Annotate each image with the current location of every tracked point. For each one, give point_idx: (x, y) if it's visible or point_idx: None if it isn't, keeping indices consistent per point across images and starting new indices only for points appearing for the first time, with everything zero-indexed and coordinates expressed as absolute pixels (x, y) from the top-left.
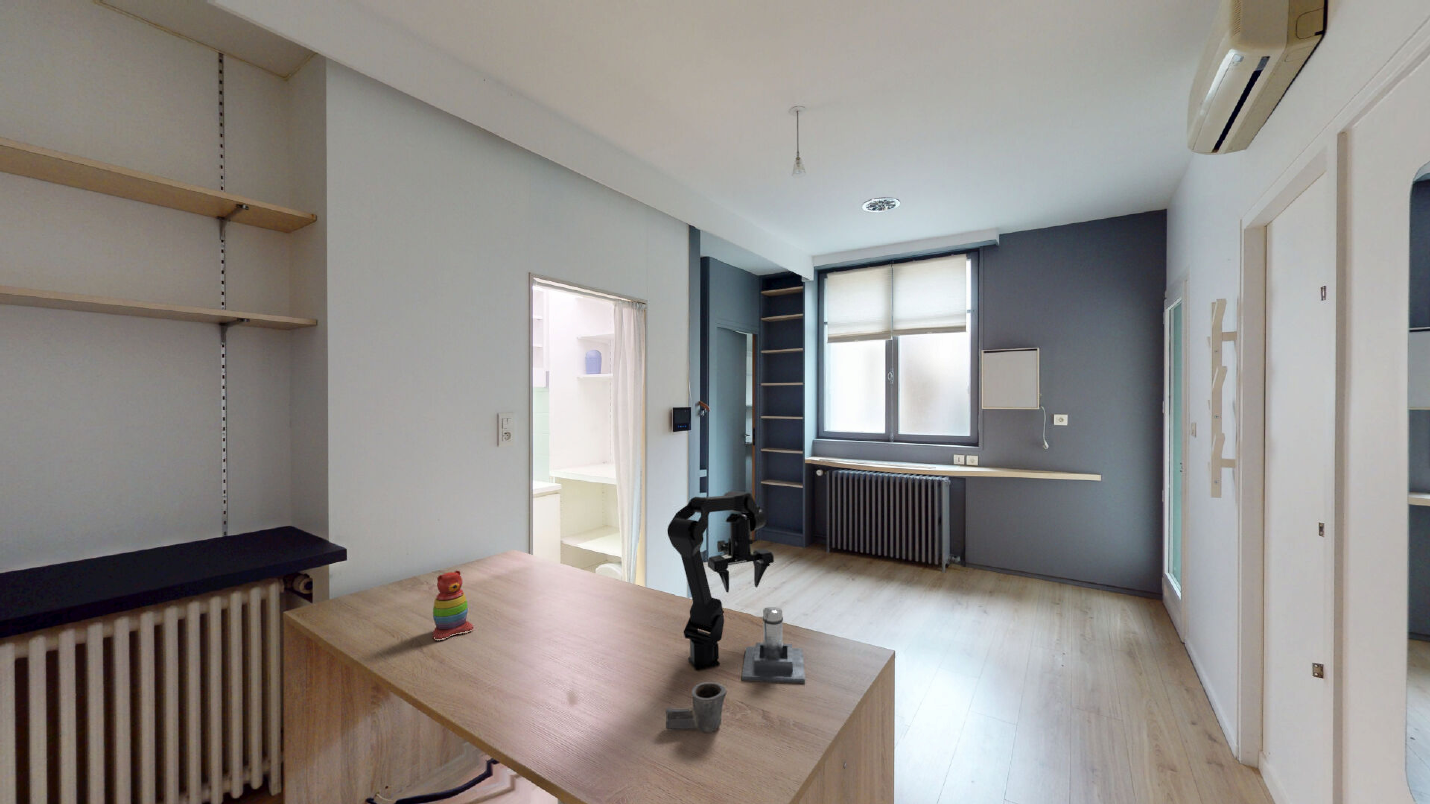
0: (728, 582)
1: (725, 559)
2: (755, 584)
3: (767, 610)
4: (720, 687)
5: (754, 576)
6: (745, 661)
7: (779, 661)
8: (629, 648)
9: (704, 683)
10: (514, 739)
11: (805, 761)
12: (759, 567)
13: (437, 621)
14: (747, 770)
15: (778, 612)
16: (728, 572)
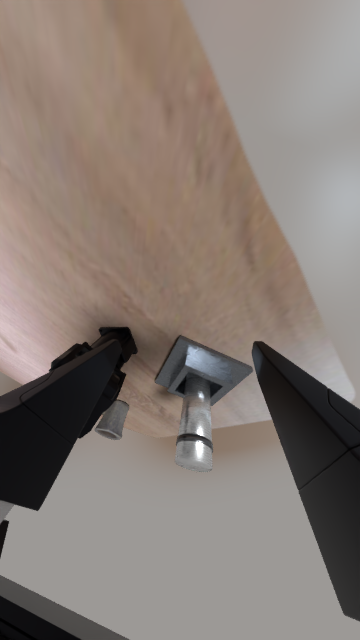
0: (92, 405)
1: None
2: (255, 356)
3: (184, 462)
4: (116, 436)
5: (281, 377)
6: (166, 365)
7: None
8: (6, 264)
9: (103, 430)
10: (2, 368)
11: (170, 434)
12: (334, 548)
13: None
14: (139, 427)
15: (200, 470)
16: (42, 497)
